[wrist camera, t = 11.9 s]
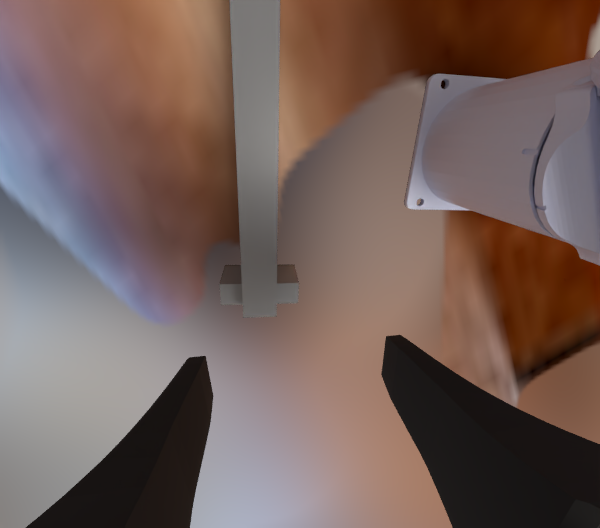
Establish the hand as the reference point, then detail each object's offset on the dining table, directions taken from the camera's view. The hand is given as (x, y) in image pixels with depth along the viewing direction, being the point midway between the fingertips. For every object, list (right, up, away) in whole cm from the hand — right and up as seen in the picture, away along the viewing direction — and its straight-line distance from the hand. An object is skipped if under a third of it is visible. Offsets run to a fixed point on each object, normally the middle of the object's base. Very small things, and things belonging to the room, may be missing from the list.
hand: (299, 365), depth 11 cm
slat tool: (-3, +12, +6) cm, 13 cm away
